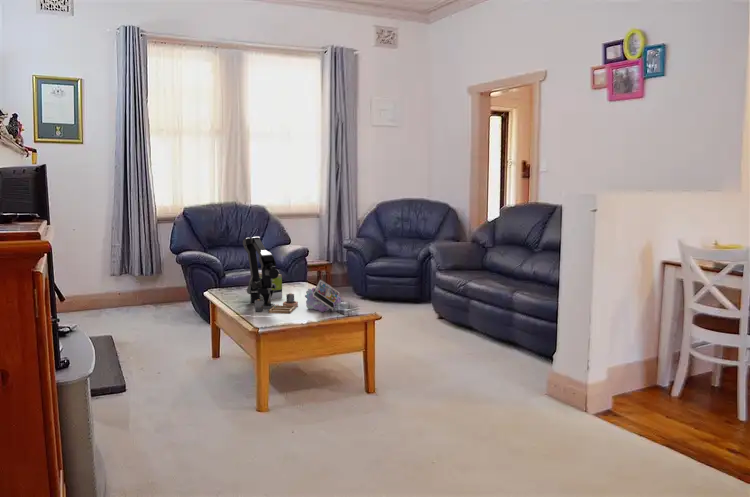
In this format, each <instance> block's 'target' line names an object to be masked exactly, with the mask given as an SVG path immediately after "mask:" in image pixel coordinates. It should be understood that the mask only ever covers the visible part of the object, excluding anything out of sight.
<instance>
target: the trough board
mask: <svg viewBox="0 0 750 497" xmlns="http://www.w3.org/2000/svg"><path fill="white" fill-rule="evenodd" d="M275 306H277V308H274V307H275ZM275 306H273V307H272V308H271V309H270V310H268V314H291V313H292V312H293V311H294V310H295V309H296V307H295V306H283V305H281V306H278V305H276V304H275Z"/></svg>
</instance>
